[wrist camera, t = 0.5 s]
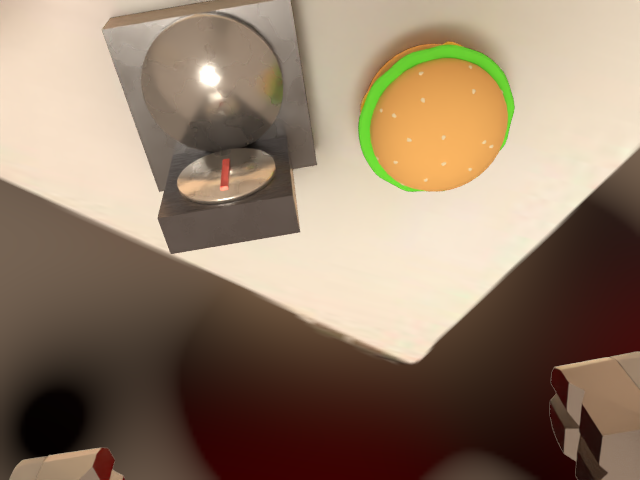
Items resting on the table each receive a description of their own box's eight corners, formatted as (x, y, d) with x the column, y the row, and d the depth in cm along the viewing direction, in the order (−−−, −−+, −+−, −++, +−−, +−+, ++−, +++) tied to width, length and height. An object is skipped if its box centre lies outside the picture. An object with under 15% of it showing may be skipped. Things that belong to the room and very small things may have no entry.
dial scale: (110, 17, 41) (67, 76, 32) (287, -13, 41) (298, 36, 32) (163, 173, 49) (141, 258, 39) (313, 148, 49) (328, 227, 39)
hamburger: (392, 188, 52) (414, 244, 45) (322, 83, 46) (335, 129, 39) (514, 118, 49) (557, 166, 42) (457, -5, 43) (497, 27, 36)
